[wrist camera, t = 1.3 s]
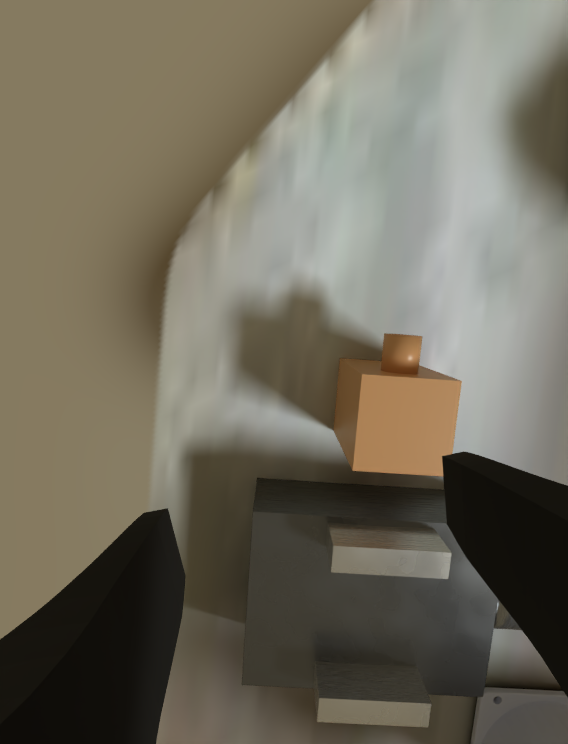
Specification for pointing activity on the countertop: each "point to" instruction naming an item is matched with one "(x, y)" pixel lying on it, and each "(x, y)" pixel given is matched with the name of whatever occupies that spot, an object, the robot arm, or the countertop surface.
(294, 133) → the countertop surface
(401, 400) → the tan single stud brick
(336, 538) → the grey plate with rails
